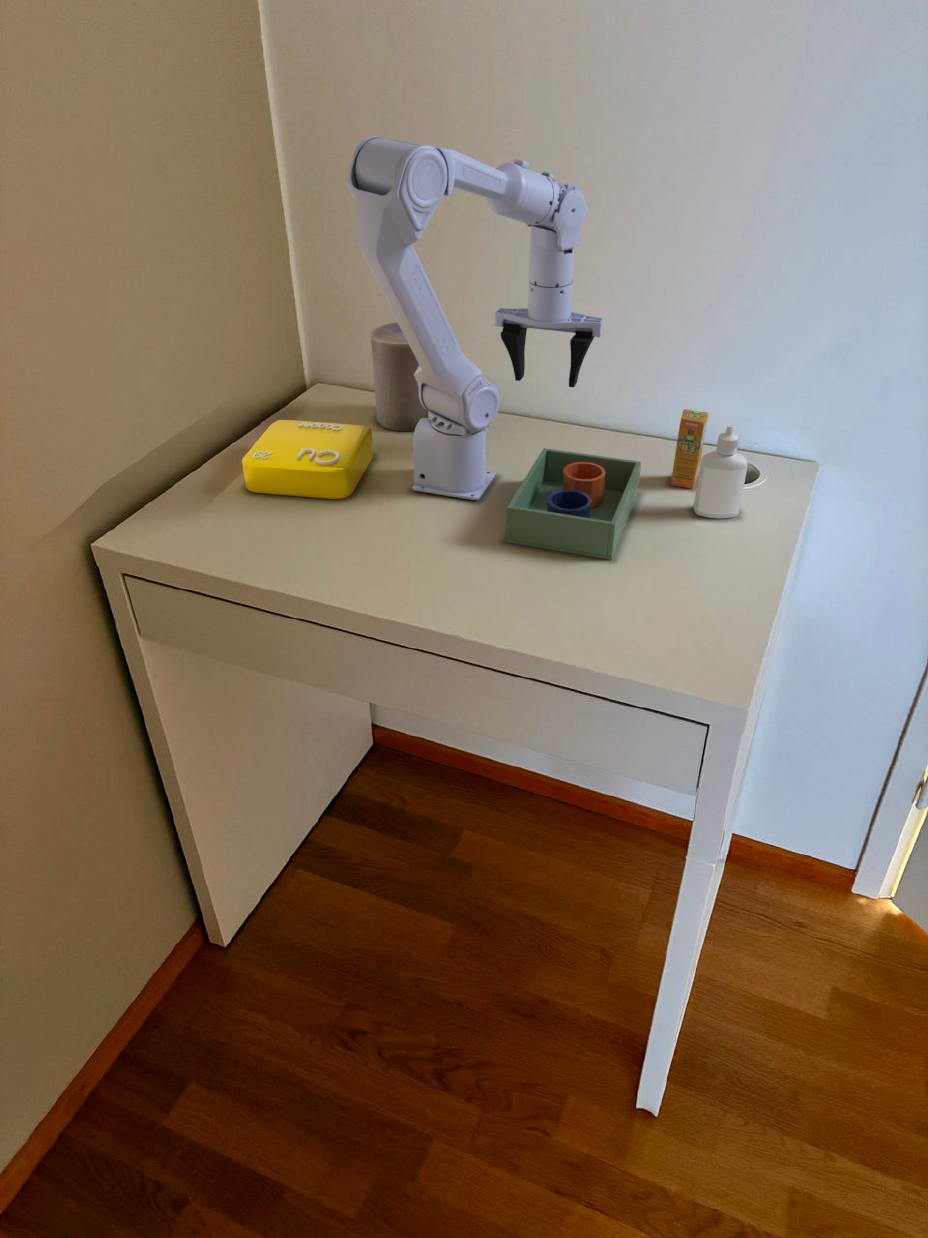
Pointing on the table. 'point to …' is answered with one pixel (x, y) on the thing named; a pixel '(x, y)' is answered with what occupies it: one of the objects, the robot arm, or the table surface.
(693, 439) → the supplement box
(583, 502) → the navy cup
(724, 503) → the eye dropper bottle
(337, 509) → the table surface
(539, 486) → the sage tub
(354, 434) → the element tile
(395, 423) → the pillar candle
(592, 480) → the terracotta cup
